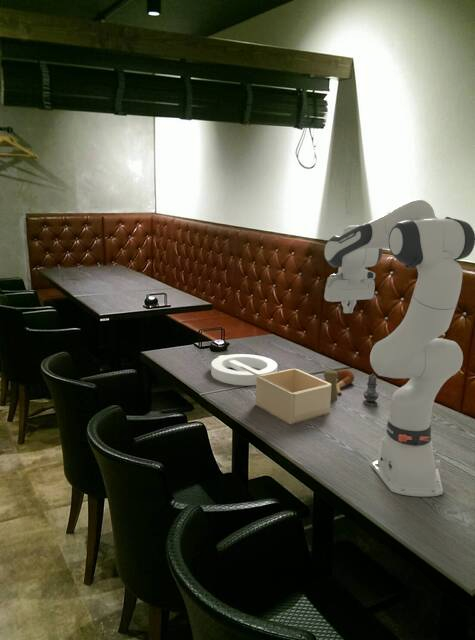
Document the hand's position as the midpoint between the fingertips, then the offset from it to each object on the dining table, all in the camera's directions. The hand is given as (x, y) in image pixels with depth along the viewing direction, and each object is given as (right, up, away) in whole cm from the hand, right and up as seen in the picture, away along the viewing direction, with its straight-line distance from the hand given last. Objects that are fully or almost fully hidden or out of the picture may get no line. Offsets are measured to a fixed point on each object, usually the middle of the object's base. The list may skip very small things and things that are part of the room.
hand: (347, 312), depth 196 cm
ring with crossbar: (-36, -26, +44) cm, 62 cm away
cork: (-3, -33, +19) cm, 38 cm away
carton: (-19, -35, +8) cm, 40 cm away
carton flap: (-26, -25, 0) cm, 36 cm away
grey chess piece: (+12, -34, +16) cm, 39 cm away
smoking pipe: (+5, -30, +31) cm, 44 cm away
